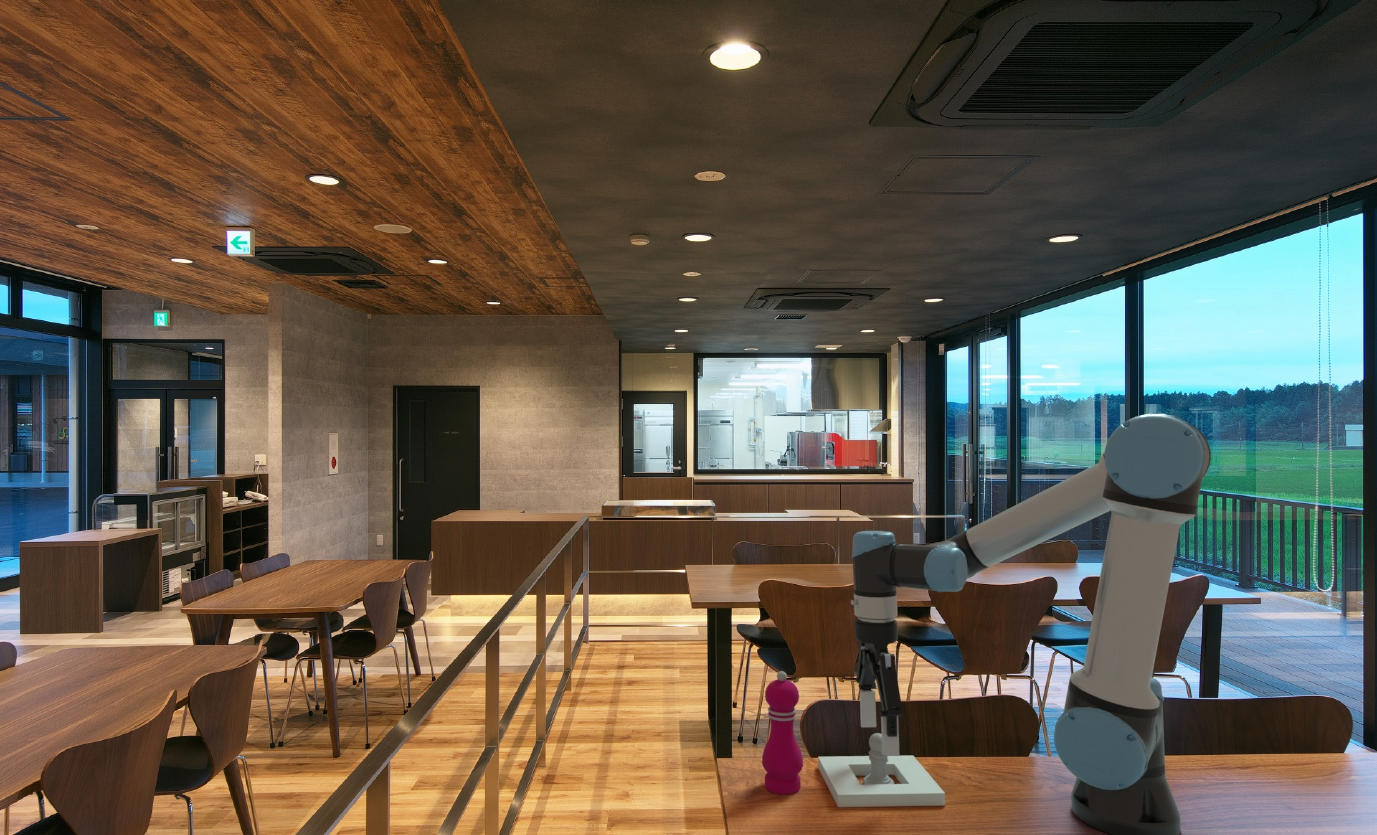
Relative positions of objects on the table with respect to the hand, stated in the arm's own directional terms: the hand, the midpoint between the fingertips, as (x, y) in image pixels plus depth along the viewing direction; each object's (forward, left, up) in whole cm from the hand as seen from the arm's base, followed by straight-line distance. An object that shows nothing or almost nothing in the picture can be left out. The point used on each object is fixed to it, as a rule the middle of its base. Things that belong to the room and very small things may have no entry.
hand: (879, 740), depth 132 cm
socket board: (0, 0, -8) cm, 8 cm away
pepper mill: (+12, +12, -8) cm, 19 cm away
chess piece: (0, 0, -8) cm, 8 cm away
